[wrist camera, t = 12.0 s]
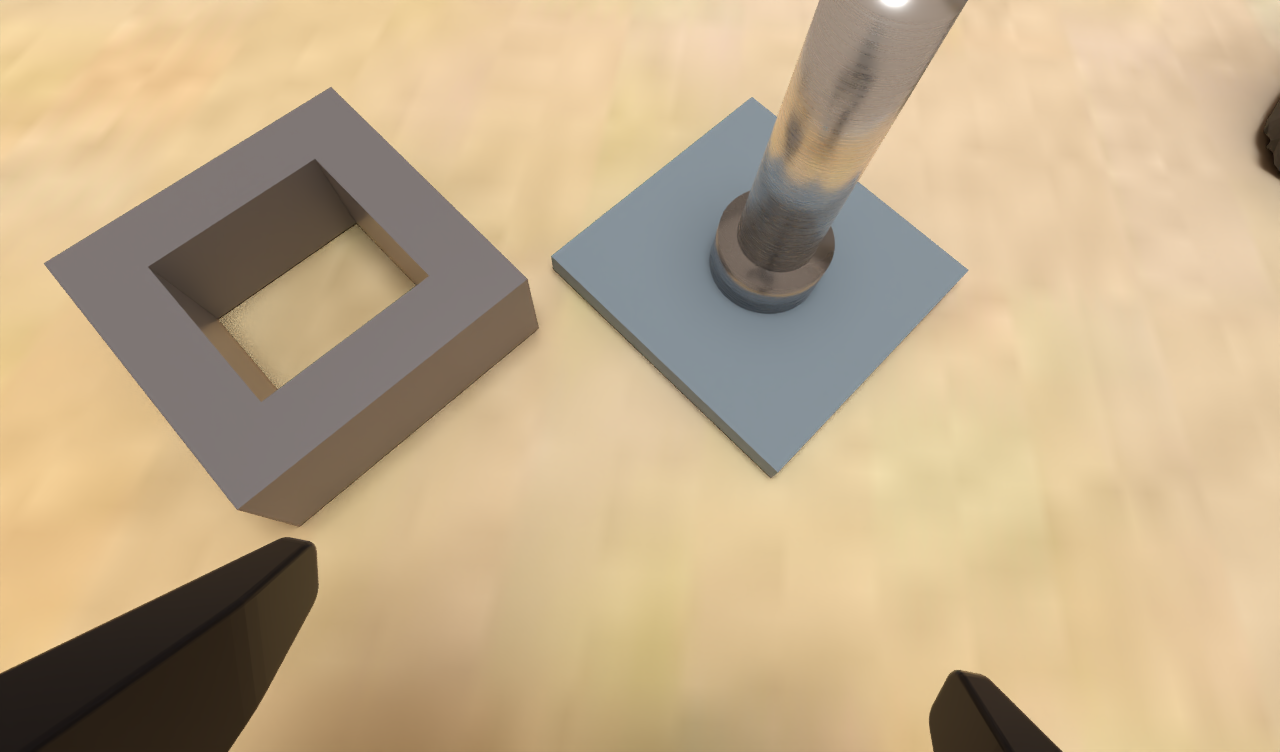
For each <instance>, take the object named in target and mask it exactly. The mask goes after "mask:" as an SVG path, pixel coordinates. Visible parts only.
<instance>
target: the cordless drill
mask: <svg viewBox="0 0 1280 752" xmlns="http://www.w3.org/2000/svg"><path fill="white" fill-rule="evenodd" d="M1264 133H1265V134H1266V135H1267V136H1268V137H1269V138H1270V143H1269V144H1268V145H1267V146H1266V148H1268V149H1269V150H1271V151H1272V153H1273V154H1274V165H1275V166H1276V167H1277V169H1278V170H1279V171H1280V100H1279V101H1278V103H1277V104H1276V106H1275V108H1274V110H1273V112H1272V113H1271V115H1270V116H1269V118H1268V120H1267V121H1266V125H1265V128H1264Z"/></svg>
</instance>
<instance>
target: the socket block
mask: <svg viewBox="0 0 1280 752" xmlns="http://www.w3.org/2000/svg"><path fill="white" fill-rule="evenodd" d="M355 223H357V224H358V225H359V226H360V227H361V228H362V230H363V231H364V232H365V233H366V234H367V235H368V236H369V237H370V238H371V239H372V240H373V241H374V242H375V243H376V244H377V245H378V246H379V247H380V248H381V249H382V250H383V251H384V252H385V253H386V254H387V255H388V256H389V258H390V259H391V260H392V261H393V262H394V263H395V264H396V265H397V266H398V267H399V268H400V269H401V270H402V271H403V272H404V273H405V274H406V275H407V276H408V277H409V278H410V279H411V280H412V281H413V282H414V283H415V284H416V286H415V287H414V288H412V289H411V290H410V291H408V292H407V293H406V294H404V295H403V296H402V297H400V298H399V299H398V300H396V301H395V302H394V303H392V304H391V305H390V306H388V307H387V308H386V309H384V310H383V311H382V312H380V313H379V314H378V315H376V316H375V317H374V318H372V319H371V320H370V321H368V322H367V323H366V324H364V325H363V326H362V327H360V328H359V329H358V330H356V331H355V332H354V333H353V334H351V335H350V336H349V337H347V338H346V339H345V340H343V341H342V342H341V343H339V344H338V345H337V346H335V347H334V348H333V349H331V350H330V351H329V352H327V353H326V354H325V355H323V356H322V357H321V358H319V359H318V360H317V361H315V362H314V363H313V364H311V365H310V366H309V367H307V368H306V369H305V370H303V371H302V372H301V373H299V374H298V375H297V376H295V377H294V378H293V379H291V380H290V381H289V382H287V383H286V384H285V385H283V386H282V387H281V388H279V389H278V390H277V388H276V387H275V386H274V385H273V384H272V382H271V381H270V380H269V379H268V378H267V377H266V375H265V374H264V373H263V372H262V371H261V370H260V368H259V367H258V366H257V365H256V364H255V362H254V361H253V360H252V359H251V358H250V357H249V355H248V354H247V353H246V352H245V351H244V350H243V348H242V347H241V346H240V345H239V344H238V342H237V341H236V340H235V339H234V338H233V337H232V335H231V334H230V333H229V332H228V331H227V330H226V328H225V327H224V326H223V325H222V324H221V322H220V321H219V320H218V319H219V318H220V317H221V316H223V315H224V314H226V313H227V312H229V311H230V310H232V309H233V308H234V307H236V306H237V305H239V304H240V303H242V302H243V301H244V300H246V299H247V298H249V297H250V296H252V295H253V294H255V293H256V292H257V291H259V290H260V289H262V288H263V287H265V286H266V285H268V284H269V283H270V282H272V281H273V280H275V279H276V278H278V277H279V276H281V275H282V274H283V273H285V272H286V271H288V270H289V269H291V268H292V267H293V266H295V265H296V264H298V263H299V262H301V261H302V260H304V259H305V258H306V257H308V256H309V255H311V254H312V253H314V252H315V251H317V250H318V249H319V248H321V247H322V246H324V245H325V244H327V243H328V242H329V241H331V240H332V239H334V238H335V237H337V236H338V235H340V234H341V233H342V232H344V231H345V230H347V229H348V228H350V227H351V226H353V225H354V224H355ZM44 265H45V266H46V267H47V268H48V270H49V271H50V272H51V273H52V275H53V276H54V277H55V279H56V280H57V281H58V282H59V284H60V285H61V286H62V287H63V289H64V290H65V291H66V293H67V294H68V295H69V296H70V298H71V299H72V300H73V301H74V303H75V304H76V305H77V307H78V308H79V309H80V310H81V312H82V313H83V314H84V315H85V317H86V318H87V319H88V321H89V322H90V323H91V324H92V326H93V327H94V328H95V329H96V331H97V332H98V333H99V335H100V336H101V337H102V338H103V340H104V341H105V342H106V343H107V345H108V346H109V347H110V349H111V350H112V351H113V352H114V354H115V355H116V356H117V357H118V359H119V360H120V361H121V363H122V364H123V365H124V366H125V368H126V369H127V370H128V371H129V373H130V374H131V375H132V377H133V378H134V379H135V380H136V382H137V383H138V384H139V386H140V387H141V388H142V389H143V391H144V392H145V393H146V394H147V396H148V397H149V398H150V400H151V401H152V402H153V403H154V405H155V406H156V407H157V408H158V410H159V411H160V412H161V414H162V415H163V416H164V417H165V419H166V420H167V421H168V422H169V424H170V425H171V426H172V428H173V429H174V430H175V431H176V433H177V434H178V435H179V436H180V438H181V439H182V440H183V442H184V443H185V444H186V445H187V447H188V448H189V449H190V450H191V452H192V453H193V454H194V456H195V457H196V458H197V459H198V461H199V462H200V463H201V464H202V466H203V467H204V468H205V470H206V471H207V472H208V473H209V475H210V476H211V477H212V478H213V480H214V481H215V482H216V484H217V485H218V486H219V487H220V489H221V490H222V491H223V492H224V494H225V495H226V496H227V498H228V499H229V500H230V501H231V503H232V504H233V505H234V506H235V508H236V509H237V510H240V511H243V512H247V513H251V514H255V515H258V516H262V517H266V518H270V519H273V520H277V521H281V522H285V523H288V524H292V525H296V526H301V525H302V524H303V523H304V522H306V521H307V520H308V519H309V518H310V517H312V516H313V515H314V514H315V513H316V512H318V511H319V510H320V509H321V508H322V507H324V506H325V505H326V504H327V503H328V502H330V501H331V500H332V499H333V498H334V497H336V496H337V495H338V494H339V493H341V492H342V491H343V490H344V489H345V488H347V487H348V486H349V485H350V484H351V483H353V482H354V481H355V480H356V479H357V478H359V477H360V476H361V475H362V474H363V473H365V472H366V471H367V470H368V469H369V468H371V467H372V466H373V465H374V464H375V463H377V462H378V461H379V460H380V459H382V458H383V457H384V456H385V455H386V454H388V453H389V452H390V451H391V450H392V449H394V448H395V447H396V446H397V445H398V444H400V443H401V442H402V441H403V440H404V439H406V438H407V437H408V436H409V435H410V434H412V433H413V432H414V431H415V430H417V429H418V428H419V427H420V426H421V425H423V424H424V423H425V422H426V421H427V420H429V419H430V418H431V417H432V416H433V415H435V414H436V413H437V412H438V411H439V410H441V409H442V408H443V407H444V406H445V405H447V404H448V403H449V402H450V401H452V400H453V399H454V398H455V397H456V396H458V395H459V394H460V393H461V392H462V391H464V390H465V389H466V388H467V387H468V386H470V385H471V384H472V383H473V382H474V381H476V380H477V379H478V378H479V377H480V376H482V375H483V374H484V373H485V372H486V371H488V370H489V369H490V368H491V367H493V366H494V365H495V364H496V363H497V362H499V361H500V360H501V359H502V358H503V357H505V356H506V355H507V354H508V353H509V352H511V351H512V350H513V349H514V348H515V347H517V346H518V345H519V344H520V343H521V342H523V341H524V340H525V339H526V338H528V337H529V336H530V335H531V334H532V333H534V332H535V331H536V330H537V329H538V328H539V327H538V323H537V319H536V314H535V310H534V305H533V301H532V297H531V292H530V288H529V284H528V279H527V278H526V277H525V276H524V275H523V274H522V273H521V272H520V271H519V270H518V269H517V268H516V267H515V266H514V265H513V264H512V263H511V262H509V261H508V260H507V259H506V258H505V257H504V256H503V255H502V254H501V253H500V252H499V251H498V250H497V249H496V248H495V247H494V246H493V245H492V244H491V243H490V242H489V241H488V240H487V239H486V238H485V237H484V236H483V235H482V234H481V233H480V232H479V231H478V230H477V229H476V228H475V227H474V226H473V225H472V224H471V223H470V222H469V221H468V220H467V219H466V218H464V217H463V216H462V215H461V214H460V213H459V212H458V211H457V210H456V209H455V208H454V207H453V206H452V205H451V204H450V203H449V202H448V201H447V200H446V199H445V198H444V197H443V196H442V195H441V194H440V193H439V192H438V191H437V190H436V189H435V188H434V187H433V186H432V185H431V184H430V183H429V182H428V181H427V180H426V179H425V178H424V177H423V176H422V175H420V174H419V173H418V172H417V171H416V170H415V169H414V168H413V167H412V166H411V165H410V164H409V163H408V162H407V161H406V160H405V159H404V158H403V157H402V156H401V155H400V154H399V153H398V152H397V151H396V150H395V149H394V148H393V147H392V146H391V145H390V144H389V143H388V142H387V141H386V140H385V139H384V138H383V137H382V136H381V135H380V134H379V133H378V132H377V131H375V130H374V129H373V128H372V127H371V126H370V125H369V124H368V123H367V122H366V121H365V120H364V119H363V118H362V117H361V116H360V115H359V114H358V113H357V112H356V111H355V110H354V109H353V108H352V107H351V106H350V105H349V104H348V103H347V102H346V101H345V100H344V99H343V98H342V97H341V96H340V95H339V94H338V93H337V92H336V91H335V90H334V89H333V88H332V87H330V88H329V89H327V90H325V91H324V92H322V93H320V94H319V95H317V96H315V97H314V98H312V99H311V100H309V101H307V102H306V103H304V104H302V105H301V106H299V107H298V108H296V109H294V110H293V111H291V112H289V113H288V114H286V115H285V116H283V117H281V118H280V119H278V120H276V121H275V122H273V123H272V124H270V125H268V126H267V127H265V128H263V129H262V130H260V131H259V132H257V133H255V134H254V135H252V136H250V137H249V138H247V139H245V140H244V141H242V142H241V143H239V144H237V145H236V146H234V147H232V148H231V149H229V150H228V151H226V152H224V153H223V154H221V155H219V156H218V157H216V158H215V159H213V160H211V161H210V162H208V163H206V164H205V165H203V166H202V167H200V168H198V169H197V170H195V171H193V172H192V173H190V174H189V175H187V176H185V177H184V178H182V179H180V180H179V181H177V182H176V183H174V184H172V185H171V186H169V187H167V188H166V189H164V190H162V191H161V192H159V193H158V194H156V195H154V196H153V197H151V198H149V199H148V200H146V201H145V202H143V203H141V204H140V205H138V206H136V207H135V208H133V209H132V210H130V211H128V212H127V213H125V214H123V215H122V216H120V217H119V218H117V219H115V220H114V221H112V222H110V223H109V224H107V225H106V226H104V227H102V228H101V229H99V230H97V231H96V232H94V233H92V234H91V235H89V236H88V237H86V238H84V239H83V240H81V241H79V242H78V243H76V244H75V245H73V246H71V247H70V248H68V249H66V250H65V251H63V252H62V253H60V254H58V255H57V256H55V257H53V258H52V259H50V260H49V261H47V262H45V263H44Z"/></svg>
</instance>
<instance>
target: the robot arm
mask: <svg viewBox="0 0 1280 752" xmlns="http://www.w3.org/2000/svg"><path fill="white" fill-rule="evenodd" d="M318 585H319V583H318V566H317V551H316V547H315V545H314V544H313V543H312V542H310V541H305V540H300V539H295V538H290V537H284V538H281V539H278V540H276V541H274V542H272V543H270V544H268V545H266V546H263V547H261V548H259V549H257V550H255V551H253V552H251V553H249V554H247V555H245V556H243V557H241V558H239V559H237V560H234V561H232V562H230V563H228V564H226V565H224V566H222V567H220V568H218V569H216V570H214V571H212V572H210V573H207V574H205V575H203V576H201V577H199V578H197V579H195V580H193V581H191V582H189V583H187V584H185V585H183V586H181V587H178V588H176V589H174V590H172V591H170V592H168V593H166V594H164V595H162V596H160V597H158V598H156V599H154V600H152V601H149V602H147V603H145V604H143V605H141V606H139V607H137V608H135V609H133V610H131V611H129V612H127V613H125V614H123V615H120V616H118V617H116V618H114V619H112V620H110V621H108V622H106V623H104V624H102V625H100V626H98V627H96V628H94V629H91V630H89V631H87V632H85V633H83V634H81V635H79V636H77V637H75V638H73V639H71V640H69V641H67V642H65V643H62V644H60V645H58V646H56V647H54V648H52V649H50V650H48V651H46V652H44V653H42V654H40V655H38V656H36V657H33V658H31V659H29V660H27V661H25V662H23V663H21V664H19V665H17V666H15V667H13V668H11V669H9V670H6V671H4V672H2V673H0V752H228V751H229V750H230V748H231V747H232V745H233V744H234V742H235V741H236V739H237V738H238V736H239V735H240V733H241V732H242V730H243V729H244V727H245V726H246V724H247V723H248V721H249V720H250V718H251V717H252V715H253V714H254V712H255V710H256V709H257V707H258V705H259V704H260V702H261V700H262V698H263V697H264V695H265V693H266V691H267V690H268V688H269V686H270V684H271V682H272V680H273V679H274V677H275V675H276V673H277V671H278V669H279V667H280V666H281V664H282V662H283V660H284V658H285V656H286V654H287V653H288V651H289V649H290V647H291V645H292V643H293V641H294V640H295V638H296V636H297V634H298V632H299V630H300V628H301V627H302V625H303V623H304V621H305V619H306V617H307V615H308V614H309V612H310V610H311V608H312V606H313V604H314V602H315V600H316V597H317V593H318ZM929 727H930V733H931V739H932V745H933V751H934V752H1062V751H1061V750H1060V749H1059V748H1058V747H1057V746H1056V745H1055V744H1054V743H1053V742H1052V741H1051V740H1050V739H1049V738H1048V737H1047V736H1046V735H1045V734H1044V733H1043V732H1042V731H1041V730H1040V729H1039V728H1038V727H1037V726H1036V725H1035V724H1034V723H1033V722H1032V721H1031V720H1030V719H1029V718H1028V717H1027V716H1026V715H1025V714H1024V713H1023V712H1022V711H1021V710H1020V709H1019V708H1018V707H1017V706H1016V705H1015V704H1014V703H1013V702H1012V701H1011V700H1010V699H1009V698H1008V697H1007V696H1006V695H1005V694H1004V693H1003V692H1002V691H1001V690H1000V689H999V688H998V687H997V686H996V685H995V684H994V683H993V682H992V681H991V680H990V679H988V678H987V677H986V676H984V675H981V674H977V673H972V672H967V671H962V670H954V671H953V672H951V673H950V674H949V676H948V677H947V679H946V681H945V683H944V685H943V687H942V688H941V690H940V692H939V694H938V696H937V698H936V700H935V701H934V703H933V705H932V708H931V711H930V715H929Z"/></svg>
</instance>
